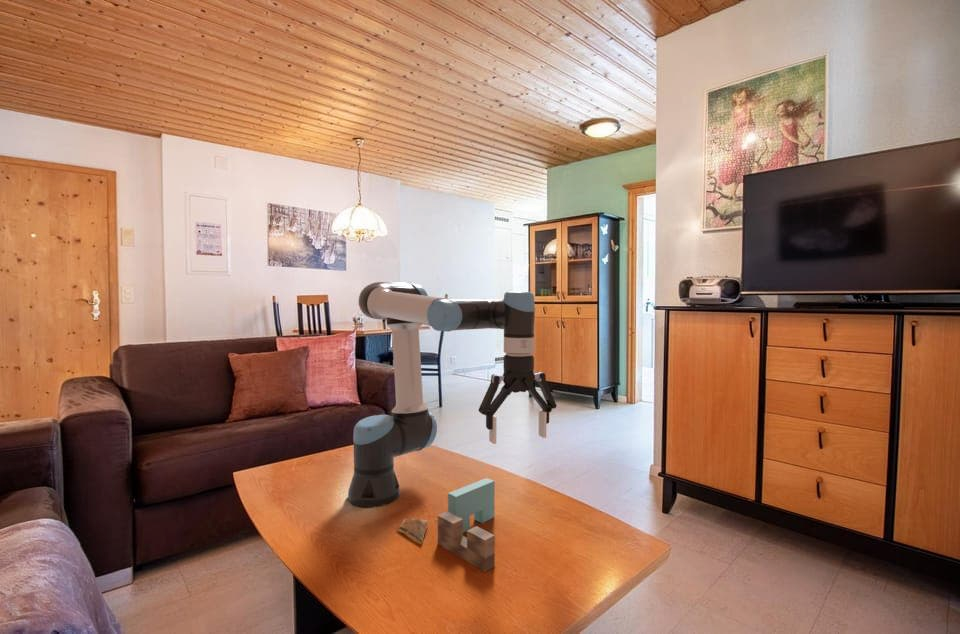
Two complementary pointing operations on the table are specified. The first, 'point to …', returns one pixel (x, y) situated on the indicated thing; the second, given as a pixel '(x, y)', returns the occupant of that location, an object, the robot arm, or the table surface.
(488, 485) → the teal board
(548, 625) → the table surface
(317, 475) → the table surface
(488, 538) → the walnut board
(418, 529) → the shard
